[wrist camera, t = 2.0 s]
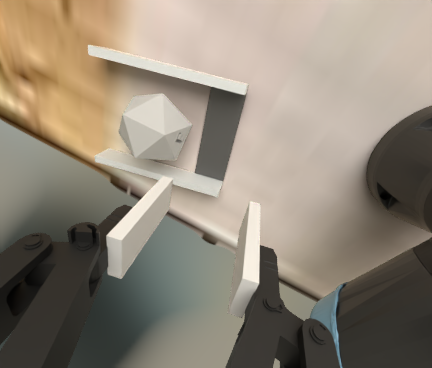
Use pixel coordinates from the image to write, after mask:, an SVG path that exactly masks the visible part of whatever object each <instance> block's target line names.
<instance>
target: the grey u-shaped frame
mask: <svg viewBox="0 0 432 368" xmlns="http://www.w3.org/2000/svg"><path fill="white" fill-rule="evenodd" d="M88 54H89V55H92V56H96V57H99V58H103V59H107V60H111V61H115V62H119V63H123V64H126V65H130V66H134V67H138V68H142V69H146V70H150V71H153V72H157V73H161V74H165V75H169V76H173V77H176V78H180V79H184V80H188V81H192V82H196V83H200V84H203V85H207V86H211V92H210V98H209V103H208V108H207V113H206V119H205V124H204V129H203V134H202V140H201V145H200V150H199V155H198V160H197V166H196V171H195V173H194V172H191V171H187V170H184V169H180V168H177V167H173V166H170V165H166V164H163V163H159V162H156V161H152V160H149V159H139V158H135V157H134V156H133V155H131V154H128V153H124V152H121V151H117V150H114V149H110V148H109V149H107V150H105V151H103V152H101V153H99V154H97V155H95V162H98V163H101V164H105V165H108V166H112V167H115V168H119V169H122V170H125V171H129V172H132V173H136V174H139V175H143V176H146V177H149V178H153V179H156V180H160V179H161V178H162V177H163V176H166V177H169V178H173V185H177V186H180V187H184V188H187V189H190V190H194V191H197V192H201V193H204V194H208V195H211V196H214V197H218V195H219V192H220V190H221V187H222V183H223V180H224V176H225V172H226V168H227V165H228V161H229V157H230V153H231V150H232V146H233V142H234V138H235V135H236V131H237V127H238V124H239V120H240V116H241V112H242V109H243V105H244V101H245V97H246V94H247V90H248V86H249V84H247V83H243V82H239V81H235V80H231V79H227V78H223V77H219V76H215V75H211V74H208V73H204V72H200V71H196V70H192V69H188V68H184V67H180V66H176V65H172V64H168V63H165V62H161V61H157V60H153V59H149V58H145V57H141V56H137V55H133V54H129V53H125V52H122V51H118V50H114V49H110V48H105V47H99V46H92V45H88Z"/></svg>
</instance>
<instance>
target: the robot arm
mask: <svg viewBox="0 0 432 368" xmlns="http://www.w3.org/2000/svg"><path fill="white" fill-rule="evenodd" d="M367 182H368V186H369V189H370V191H371V193H372V195H373V196H374V197H375V199H376V200H377V201H378V202H379V203H380V204H381V205H382V206H383V207H384V208H385V209H386V210H387V211H388V212H390V213H391V214H392V215H394V216H396V217H398V218H400V219H402V220H404V221H407V222H409V223H411V224H413V225H415V226H418V227H420V228H422V229H424V230H426V231H428V232H431V233H432V106H429V107H427V108H424V109H422V110H420V111H418V112H416V113H414V114H412V115H410V116H409V117H407V118H405V119H404V120H402V121H401V122H400V123H398V124H397V125H396V126H394V127H393V128H392V129H391V130H390V131H389V132H388V133H387V134H386V135H385V136H384V137H383V138H382V139H381V141H380V142H379V143H378V145H377V146H376V148H375V149H374V151H373V153H372V155H371V157H370V160H369V163H368V168H367ZM172 184H173V178H169V177H166V176H163V177H162V178H161V179H160V180H159V181H158V182H157V183H156V184H155V185H154V186H153V187H152V188H151V189H150V190H149V191H148V192H147V193H146V195H145V196H144V197H143V198H142V199H141V200H140V201H139V202H138V203H137V204H136V205H135V206H134V207H130V206H127V205H123V206H121V207H119V208H116V209H115V211H113V212H112V213H111V215H109V216H108V217H107V218H106V219H105V220H104V221H103V222H102V223H101V224H99V226H97V225H96V224H94V223H89V222H85V223H79V224H76V225H74V226H72V227H71V228H69V229H68V237H69V242H52V240H51V237H50V236H49V235H47V234H44V233H36V234H30V235H27V236H25V237H23V238H21V239H19V240H18V241H17V242H15V243H14V244H13V245H11V246H10V247H9V248H7V249H6V250H5V251H3V252H2V253H1V254H0V344H1V343H2V342H3V341H4V340H5V339H6V338H7V337H8V336H9V335H10V333H11V332H12V331H13V332H12V334H11V335H10V337H9V338H8V340H7V341H6V343H5V344H4V346H3V348H2V349H1V351H0V368H67V367H68V365H69V362H70V360H71V357H72V355H73V352H74V350H75V347H76V345H77V342H78V340H79V337H80V334H81V332H82V329H83V327H84V325H85V322H86V319H87V317H88V314H89V312H90V309H91V307H92V304H93V302H94V299H95V297H96V294H97V291H98V289H99V287H100V284H101V282H102V274H103V272H104V271H105V270H106V269H107V267H108V275H112V276H115V277H118V278H122V277H123V276H124V274H125V273H126V271H127V270H128V268H129V267H130V266H131V264H132V262H133V261H134V260H135V258H136V257H137V255H138V254H139V252H140V251H141V249H142V248H143V246H144V245H145V243H146V242H147V240H148V239H149V238H150V236H151V235H152V233H153V232H154V230H155V229H156V227H157V226H158V224H159V223H160V221H161V220H162V218H163V217H164V216H165V214H166V213H167V211H168V210H169V206H170V199H171V191H172ZM277 271H278V267H277V256H276V254H275V252H274V250H273V249H271V248H268V247H264V246H261V245H260V204H259V203H255V202H252V201H250V202H249V205H248V208H247V211H246V213H245V216H244V219H243V222H242V225H241V227H240V231H239V238H238V245H237V252H236V258H235V265H234V273H233V279H232V286H231V293H230V300H229V307H228V313H229V314H231V315H234V316H238V317H241V318H242V317H243V315H244V313H245V320H244V324H243V325H242V327H241V329H240V331H239V333H238V338H237V340H236V343H235V345H234V348H233V350H232V353H231V355H230V358H229V360H228V363H227V365H226V368H273V364H274V359H275V358H276V359H278V360H279V361H280V368H432V238H430V239H429V240H427V241H425V242H423V243H421V244H419V245H418V246H416V247H413V248H411V249H409V250H407V251H406V252H404V253H402V254H400V255H398V256H396V257H394V258H393V259H391V260H389V261H387V262H385V263H383V264H382V265H380V266H378V267H376V268H374V269H372V270H370V271H369V272H367V273H365V274H363V275H361V276H359V277H357V278H356V279H354V280H352V281H350V282H346V283H343V284H342V285H339V286H338V287H337V288H336V290H335V291H333V292H332V293H330V294H329V295H327V296H325V297H324V298H322V299H321V300H319V301H318V302H317V303H316V305H315V306H314V308H313V310H312V312H311V315H310V318H309V319H306V320H305V321H303V320H301V319H300V318H298V317H297V316H295V315H294V314H292V313H291V312H290V311H289V310H288V309H286V307H285V305H284V303H283V301H282V300H281V298H280V293H279V280H278V272H277Z"/></svg>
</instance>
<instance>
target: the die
mask: <svg viewBox="0 0 432 368" xmlns="http://www.w3.org/2000/svg"><path fill="white" fill-rule="evenodd" d="M191 127H192V124H191V123H190V122H189V121H188V119H187V118H186V117H185V116H184V115H183V114H182V113H181V112H180V111H179V109H178V108H177V107H176V106H175V105H174V104H173V103H172V102H171V101H170V100H169V99H168V98H167V97H166V96H165V95H164V94H163V93H161V94H149V95H137V96H133V98H132V100H131V101H130V103H129V105H128V106H127V108H126V110H125V111H124V113H123V115H122V120H121V124H120V129H119V134H120V136H121V137H122V139H123V140H124V142H125V143H126V145H127V146H128V148H129V150H130V151H131V153H132V154H133V156H134V157H135V158H139V159H155V160H171V161H176V160H177V157H178V155H179V153H180V151H181V149H182V147H183V144H184V142H185V140H186V138H187V136H188V133H189V131H190V129H191Z"/></svg>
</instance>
